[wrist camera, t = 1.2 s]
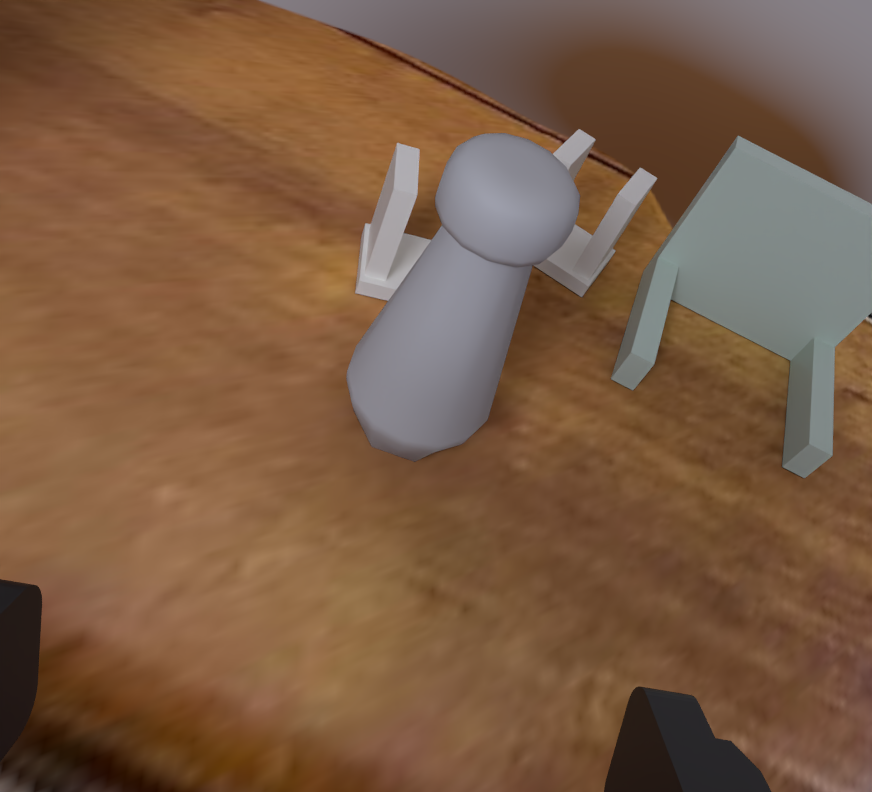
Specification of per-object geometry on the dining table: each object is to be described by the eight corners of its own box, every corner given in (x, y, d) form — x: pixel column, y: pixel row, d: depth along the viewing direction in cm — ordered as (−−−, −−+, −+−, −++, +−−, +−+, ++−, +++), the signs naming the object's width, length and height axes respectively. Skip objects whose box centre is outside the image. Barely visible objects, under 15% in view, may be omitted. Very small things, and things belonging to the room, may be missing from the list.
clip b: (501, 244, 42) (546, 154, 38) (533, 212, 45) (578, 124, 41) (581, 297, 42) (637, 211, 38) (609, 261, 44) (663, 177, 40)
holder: (610, 379, 39) (716, 240, 32) (643, 271, 45) (738, 135, 38) (804, 478, 39) (950, 360, 32) (810, 356, 45) (934, 236, 38)
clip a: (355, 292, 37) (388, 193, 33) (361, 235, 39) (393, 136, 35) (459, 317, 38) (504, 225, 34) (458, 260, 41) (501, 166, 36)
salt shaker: (467, 377, 36) (601, 132, 26) (474, 488, 32) (632, 252, 23) (337, 353, 34) (428, 84, 25) (330, 467, 31) (432, 205, 21)
